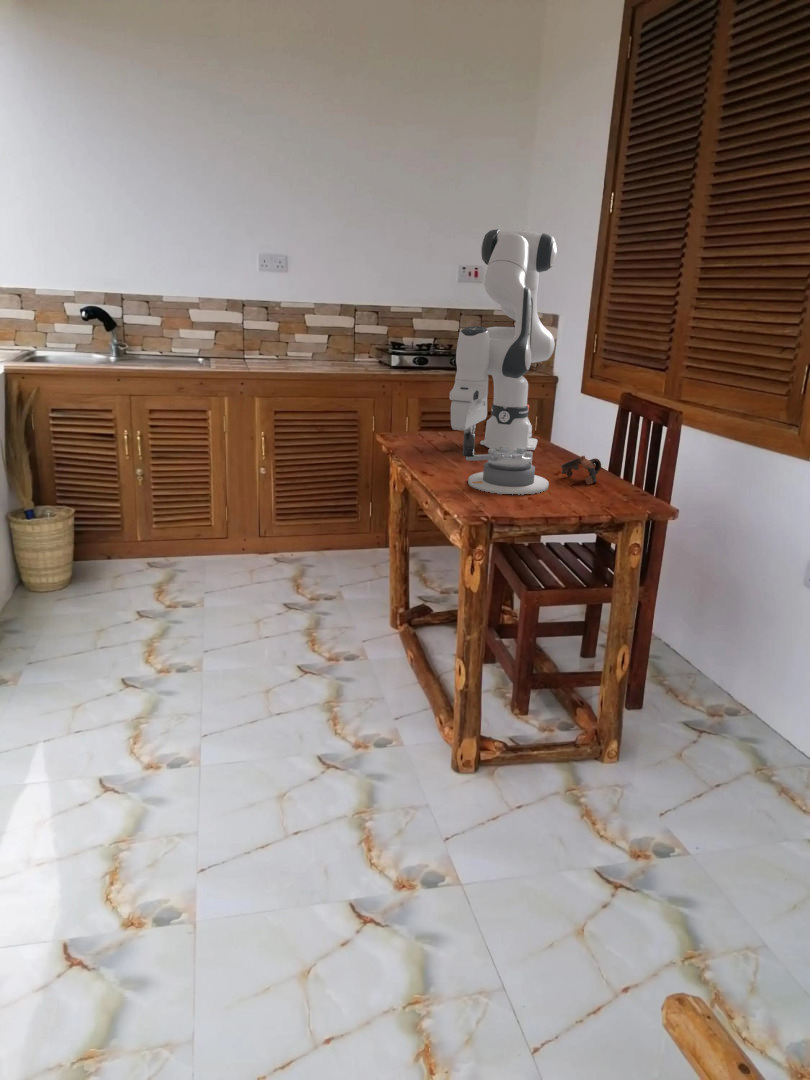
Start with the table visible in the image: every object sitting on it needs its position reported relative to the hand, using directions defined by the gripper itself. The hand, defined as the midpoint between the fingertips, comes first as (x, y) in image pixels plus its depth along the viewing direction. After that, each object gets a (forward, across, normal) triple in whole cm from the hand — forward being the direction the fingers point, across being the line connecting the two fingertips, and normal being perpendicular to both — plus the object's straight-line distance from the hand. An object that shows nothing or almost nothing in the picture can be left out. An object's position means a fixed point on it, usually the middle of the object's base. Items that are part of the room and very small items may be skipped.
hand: (468, 441), depth 219 cm
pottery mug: (+12, -19, +28) cm, 36 cm away
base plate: (+12, -4, +11) cm, 16 cm away
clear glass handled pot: (+6, -2, +8) cm, 10 cm away
